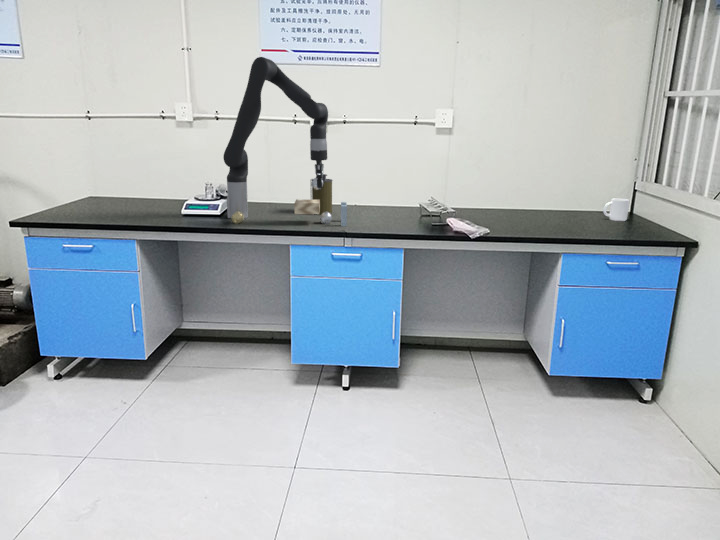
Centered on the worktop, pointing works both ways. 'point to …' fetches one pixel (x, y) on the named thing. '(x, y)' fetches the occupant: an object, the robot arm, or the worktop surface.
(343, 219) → the post
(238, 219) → the olive tan ovoid
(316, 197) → the canister
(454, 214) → the worktop surface
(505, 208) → the worktop surface
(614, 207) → the mug
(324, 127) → the robot arm
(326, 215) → the translucent grey ball
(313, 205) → the slab
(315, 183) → the mottled grey ball
